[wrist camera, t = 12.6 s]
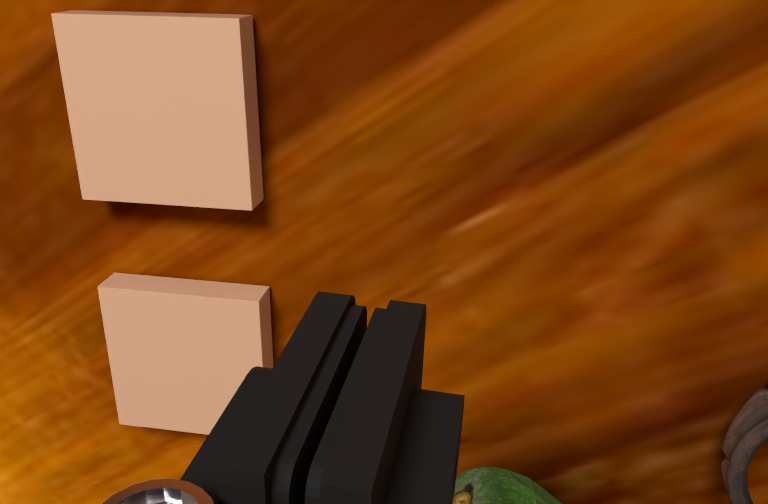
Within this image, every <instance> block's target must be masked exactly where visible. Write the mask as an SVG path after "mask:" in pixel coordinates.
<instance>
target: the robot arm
mask: <svg viewBox="0 0 768 504" xmlns="http://www.w3.org/2000/svg"><path fill="white" fill-rule="evenodd" d="M425 325H426V304H418V303H410V302H402V301H393V300H390V302H389V304H388V307H387V309H383V308H375V310H374V312H373V315H372V317H371V319H370V322H369V324H368V327H367V309H366V306H358V305H356V303H355V298H354V296H352V295H344V294H336V293H327V292H318V293H317V294H316V295H315V297H314V299H313V301H312V302H311V304H310V306H309V307H308V309H307V311H306V312H305V314H304V316H303V318H302V319H301V321H300V323H299V324H298V326H297V328H296V330H295V331H294V333H293V335H292V336H291V338H290V340H289V342H288V343H287V345H286V347H285V348H284V350H283V352H282V354H281V355H280V357H279V359H278V360H277V362H276V364H275V365H274V367H273V368H266V367H258V366H256V367H253V368H252V369H251V370H250V371H249V372H248V374H247V375H246V377H245V378H244V380H243V381H242V383H241V385H240V386H239V388H238V389H237V391H236V393H235V394H234V396H233V397H232V399H231V400H230V402H229V404H228V405H227V407H226V408H225V410H224V411H223V413H222V415H221V416H220V418H219V419H218V421H217V422H216V424H215V426H214V427H213V429H212V430H211V432H210V433H209V435H208V437H207V438H206V440H205V441H204V443H203V445H202V446H201V448H200V449H199V451H198V452H197V454H196V456H195V457H194V459H193V460H192V462H191V463H190V465H189V467H188V468H187V470H186V471H185V473H184V474H183V476H182V478H181V479H180V480H176V479H155V480H148V481H145V482H141V483H138V484H134V485H131V486H129V487H127V488H125V489H123V490H121V491H119V492H117V493H115V494H113V495H112V496H111V497H109V498H108V499H107V500H106V501H105V502H103V503H102V504H453V498H454V490H455V483H456V475H457V466H458V457H459V448H460V439H461V429H462V419H463V409H464V395H457V394H450V393H443V392H436V391H429V390H422V389H421V385H422V370H423V355H424V340H425Z"/></svg>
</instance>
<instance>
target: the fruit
mask: <svg viewBox="0 0 768 504" xmlns="http://www.w3.org/2000/svg"><path fill="white" fill-rule="evenodd" d="M453 504H563V503H561V502H560V501H559V500H557V499H556V498H555V497H554V496H552V495H551V494H550V493H549V492H547V491H546V490H545V489H543V488H542V487H541V486H539V485H538V484H536V483H535V482H534V481H532V480H531V479H530V478H528V477H527V476H523V475H520V474H518V473H515V472H513V471H510V470H507V469H502V468H497V467H476V468H472V469H468V470H464V471H463V472H462V473H461V474H459V475H458V476H457V477H456V483H455V490H454V498H453Z"/></svg>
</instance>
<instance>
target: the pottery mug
mask: <svg viewBox="0 0 768 504" xmlns="http://www.w3.org/2000/svg"><path fill="white" fill-rule="evenodd" d="M767 440H768V389H759V390H758V391H756V392H755V393H754V394H753V395H752V396H751V398H749V400H748V401H747V402H746V403H745V404H744V406H743V407H742V408H741V410H740V411H739V412H738V413H737V415H736V417H735V418H734V419H733V421H732V423H731V425H730V426H729V428H728V430H727V433H726V436H725V438H724V441H723V444H722V451H723V452H724V454H725V459H724V460H723V461H722V462H721V471H722V477H723V481H724V484H725V488H726V490H727V493H728V497H729V500H730V503H731V504H753V502H752V500H751V498H750V495H749V491H748V486H747V471H748V466H749V464H750V461H751V459H752V457H753V455H754V453H755V452H756V450H757V449H758V448H759V447H760V446H761V445H762V444H763V443H764V442H766V441H767Z"/></svg>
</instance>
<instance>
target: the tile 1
mask: <svg viewBox="0 0 768 504" xmlns="http://www.w3.org/2000/svg"><path fill="white" fill-rule="evenodd" d="M51 15H52V21H53V27H54V33H55V39H56V45H57V51H58V57H59V63H60V69H61V74H62V80H63V86H64V92H65V98H66V104H67V110H68V116H69V122H70V128H71V134H72V140H73V145H74V151H75V157H76V163H77V169H78V175H79V181H80V187H81V193H82V199H87V200H102V201H116V202H131V203H146V204H161V205H176V206H190V207H205V208H220V209H235V210H250V211H252V210H253V209H254V208H255V207H256V206H257V205H258V204H259V203H260V202H261V201H262V200H263V199H264V196H263V180H262V163H261V147H260V130H259V114H258V97H257V81H256V64H255V48H254V32H253V15H237V14H199V13H160V12H121V11H83V10H71V11H64V12H57V13H51Z"/></svg>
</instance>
